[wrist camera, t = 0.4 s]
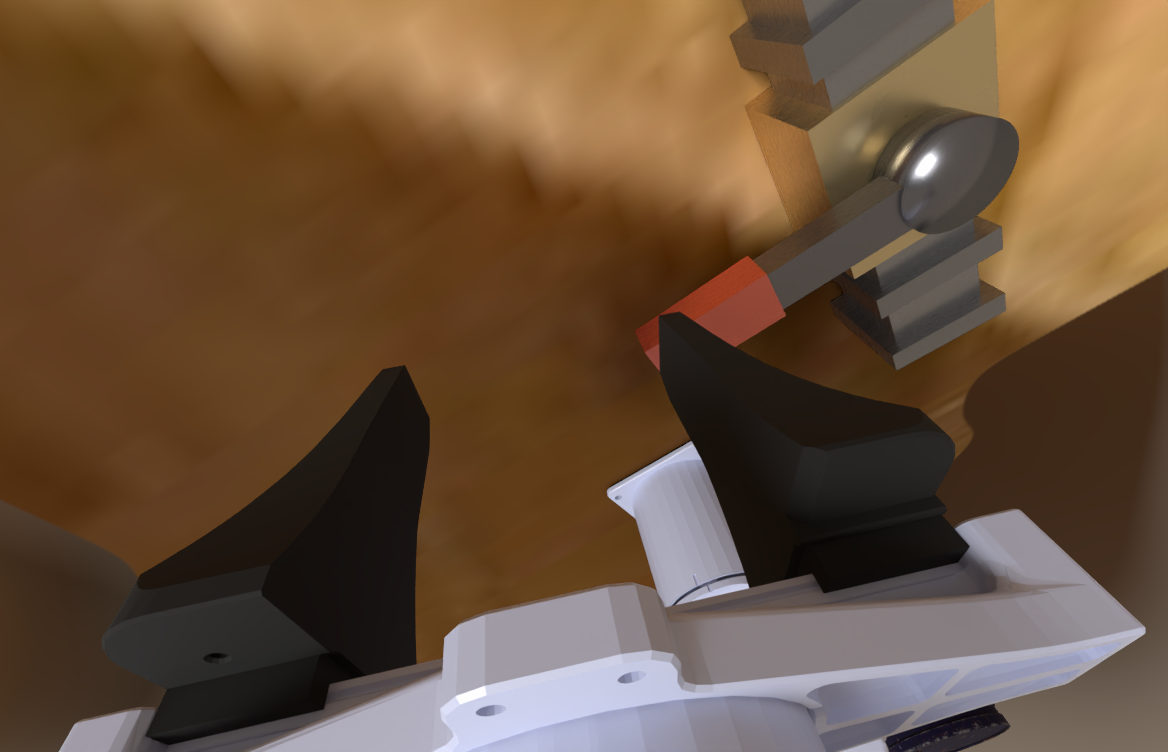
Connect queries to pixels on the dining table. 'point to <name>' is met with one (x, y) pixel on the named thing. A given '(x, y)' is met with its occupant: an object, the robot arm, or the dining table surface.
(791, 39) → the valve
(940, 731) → the storage jar
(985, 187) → the lever
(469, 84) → the dining table surface
